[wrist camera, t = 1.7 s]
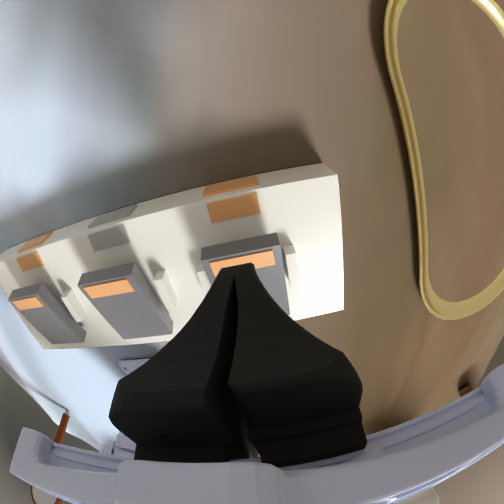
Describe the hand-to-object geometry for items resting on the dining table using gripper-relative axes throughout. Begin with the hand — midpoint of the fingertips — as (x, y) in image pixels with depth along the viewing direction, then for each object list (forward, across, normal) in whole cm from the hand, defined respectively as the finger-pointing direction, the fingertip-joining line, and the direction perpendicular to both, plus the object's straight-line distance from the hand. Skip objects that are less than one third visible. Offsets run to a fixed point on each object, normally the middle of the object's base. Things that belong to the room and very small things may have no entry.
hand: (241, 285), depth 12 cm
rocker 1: (+4, +16, +3) cm, 17 cm away
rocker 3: (+4, 0, +3) cm, 5 cm away
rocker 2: (+4, +8, +3) cm, 9 cm away
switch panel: (+8, +8, +3) cm, 12 cm away
